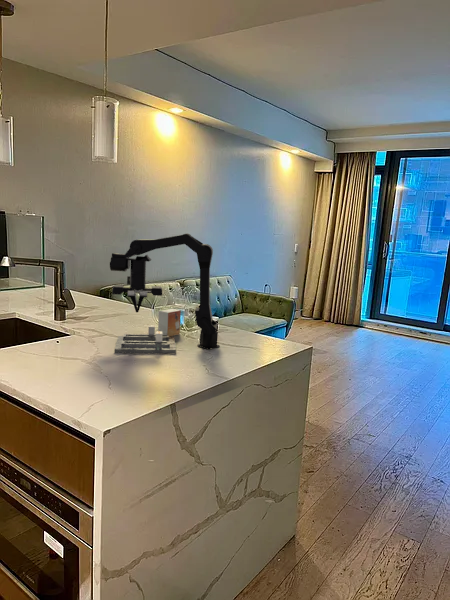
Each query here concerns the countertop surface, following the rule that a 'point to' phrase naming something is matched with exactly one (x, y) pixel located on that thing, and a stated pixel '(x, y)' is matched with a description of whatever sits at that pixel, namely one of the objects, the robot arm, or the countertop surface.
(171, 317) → the small box
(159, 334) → the block
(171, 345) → the panel
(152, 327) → the fader cap grey
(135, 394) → the countertop surface
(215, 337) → the robot arm
